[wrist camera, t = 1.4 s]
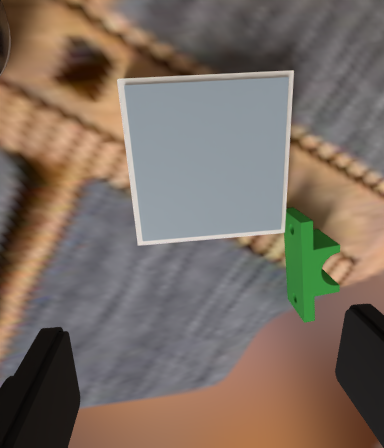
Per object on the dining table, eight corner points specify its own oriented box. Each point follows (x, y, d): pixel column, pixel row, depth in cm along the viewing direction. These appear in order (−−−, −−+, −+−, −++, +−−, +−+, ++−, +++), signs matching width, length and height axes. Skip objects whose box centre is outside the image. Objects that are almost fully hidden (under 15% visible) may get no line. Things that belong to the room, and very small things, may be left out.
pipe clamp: (317, 291, 35) (339, 316, 31) (286, 297, 35) (304, 323, 31) (317, 202, 31) (341, 216, 27) (282, 208, 31) (301, 223, 27)
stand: (121, 83, 26) (116, 78, 23) (279, 75, 27) (295, 69, 24) (140, 233, 30) (137, 246, 27) (273, 222, 31) (285, 233, 28)
